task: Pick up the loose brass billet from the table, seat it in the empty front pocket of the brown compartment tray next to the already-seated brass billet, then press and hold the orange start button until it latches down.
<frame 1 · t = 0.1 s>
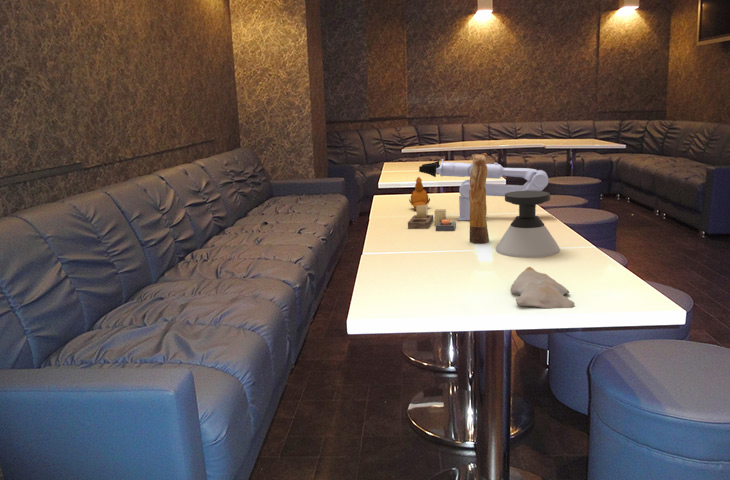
hand: (420, 168, 254), 22 cm above the table, tool horizontal, fingers open, 7 cm apart
billet: (440, 224, 245), on the table
sculpture: (479, 241, 215), on the table
button housing: (445, 228, 237), on the table
brown compartment tray: (421, 224, 248), on the table
start button: (445, 222, 237), point 2 cm above the table, slide at 0.0 cm
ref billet: (422, 220, 251), point 1 cm above the table, touching brown compartment tray
light fixture: (527, 250, 199), on the table
toy: (419, 209, 283), on the table
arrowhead: (537, 291, 159), on the table
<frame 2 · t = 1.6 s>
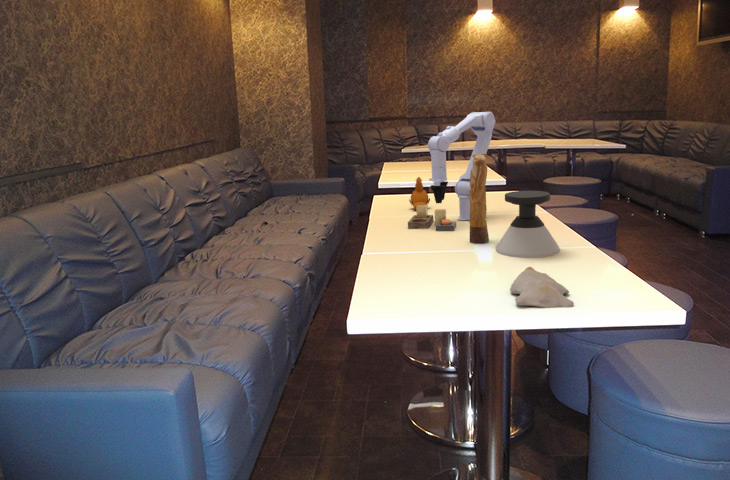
hand: (440, 201, 243), 9 cm above the table, tool pointing down, fingers open, 7 cm apart
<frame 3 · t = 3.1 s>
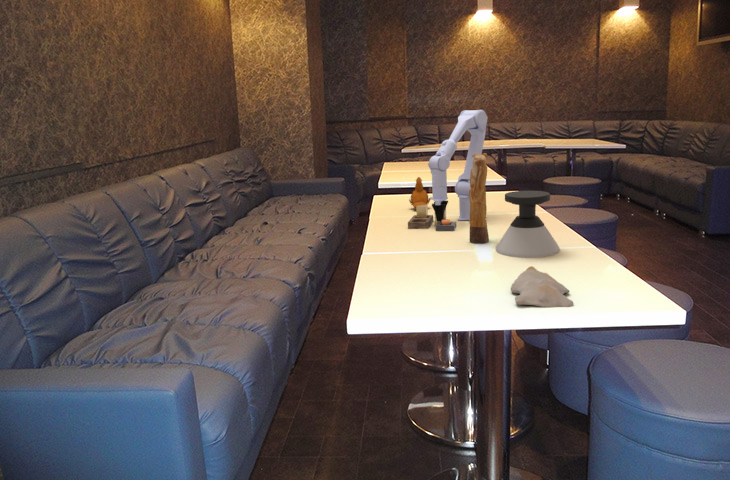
hand: (440, 220, 245), 2 cm above the table, tool pointing down, fingers closed on billet, 4 cm apart
billet: (440, 224, 245), on the table, touching gripper
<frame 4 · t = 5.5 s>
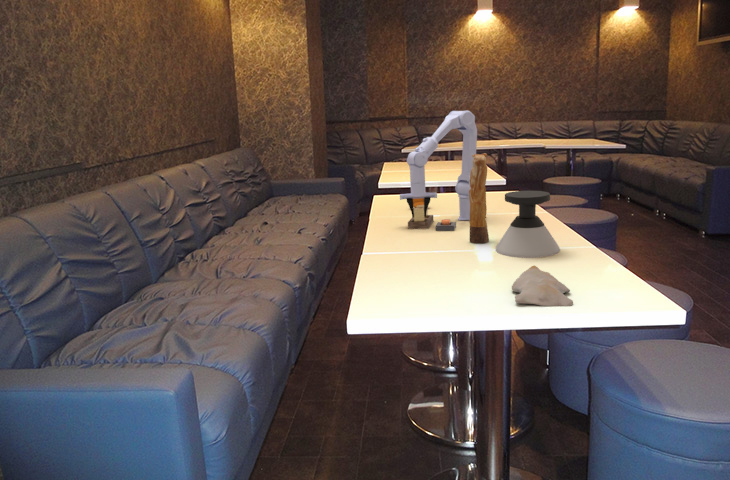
hand: (419, 216, 243), 4 cm above the table, tool pointing down, fingers closed on billet, 4 cm apart
billet: (419, 223, 244), point 1 cm above the table, touching gripper
when the fingers open (4 cm above the table, at t = 6.0 s): billet stays where it is, resting on brown compartment tray.
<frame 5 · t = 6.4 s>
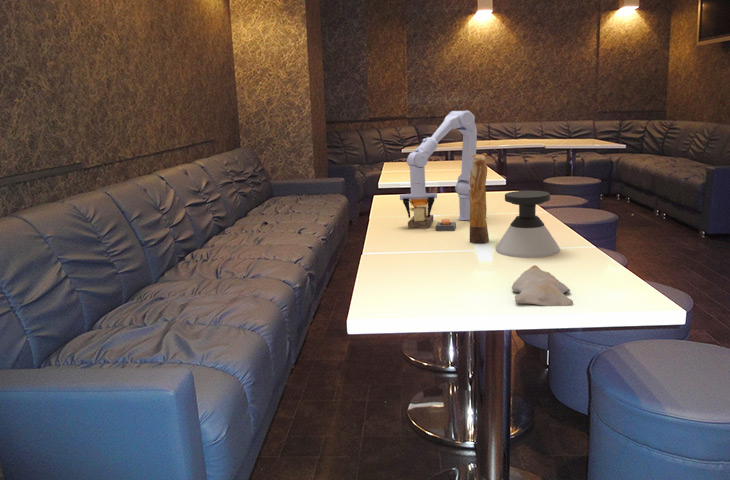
hand: (419, 217, 243), 4 cm above the table, tool pointing down, fingers open, 7 cm apart
billet: (419, 224, 244), point 1 cm above the table, touching brown compartment tray
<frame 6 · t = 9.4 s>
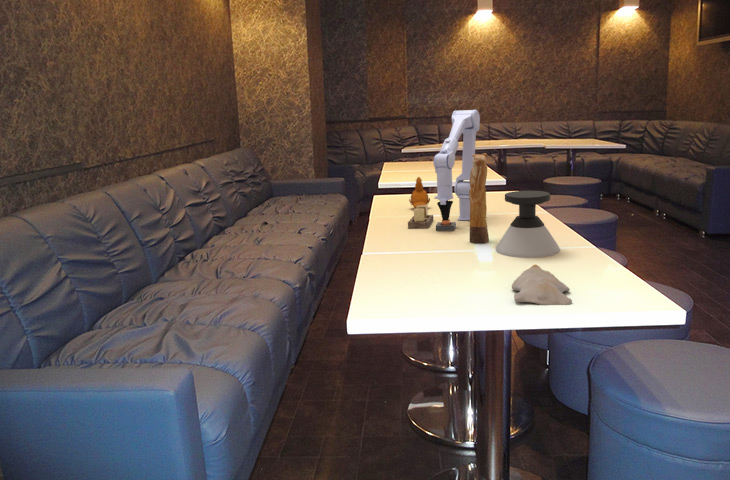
hand: (445, 220, 236), 3 cm above the table, tool pointing down, fingers closed, pressing on start button
start button: (445, 222, 237), point 2 cm above the table, slide at 0.0 cm, touching gripper
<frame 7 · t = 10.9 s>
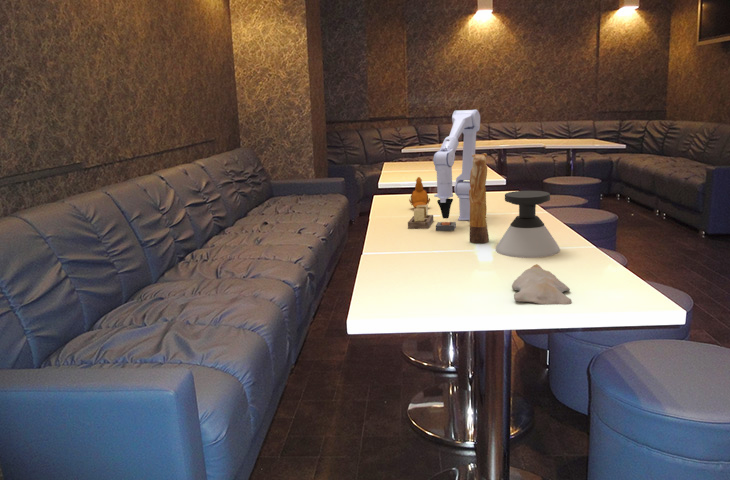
hand: (445, 218, 236), 4 cm above the table, tool pointing down, fingers closed
start button: (445, 225, 237), point 1 cm above the table, slide at 1.0 cm
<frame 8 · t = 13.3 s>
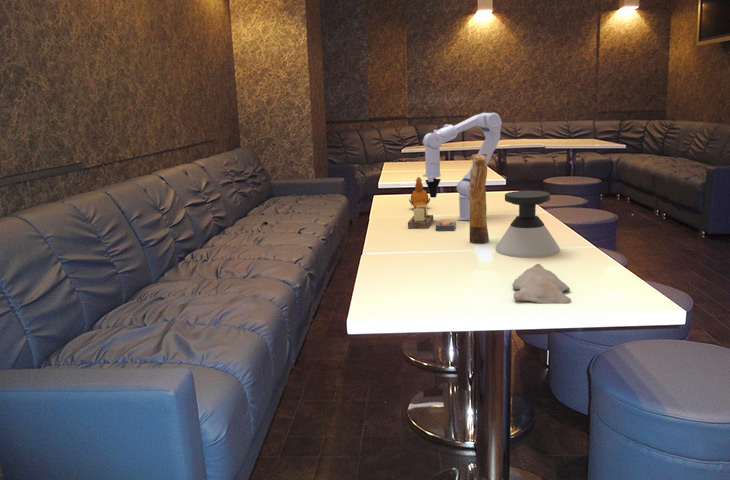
hand: (433, 197, 249), 10 cm above the table, tool pointing down, fingers closed
at the end: billet 0.0 cm from the target spot on the brown compartment tray, point 1.0 cm above the brown compartment tray's base; billet tilted 0°; start button slide at 1.0 cm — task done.
